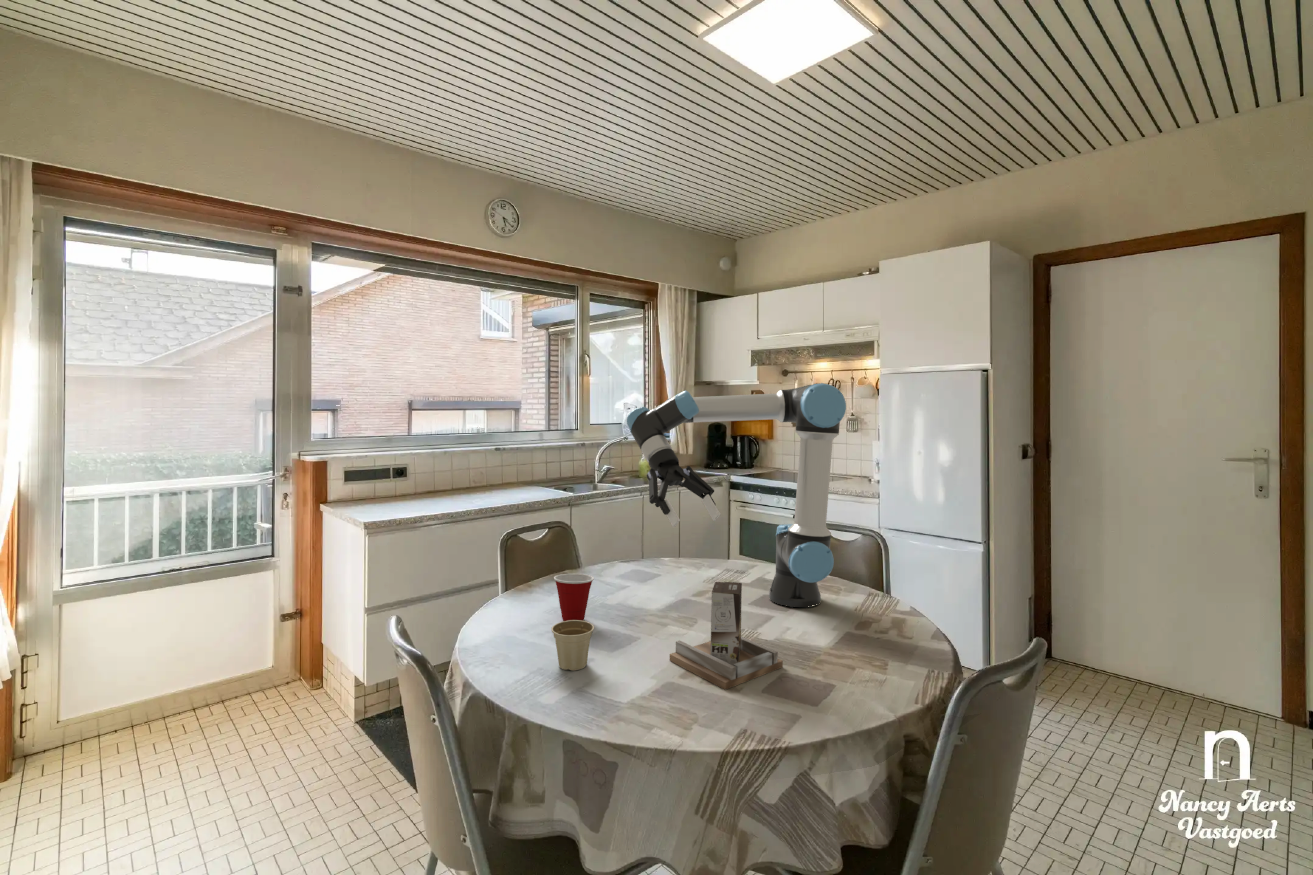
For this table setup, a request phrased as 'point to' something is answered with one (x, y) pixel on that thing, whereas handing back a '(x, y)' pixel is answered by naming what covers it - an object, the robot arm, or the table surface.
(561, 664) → the flower pot
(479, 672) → the table surface
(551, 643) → the table surface
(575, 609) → the plastic cup
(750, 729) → the table surface
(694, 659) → the rail holder
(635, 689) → the table surface
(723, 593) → the coffee box
